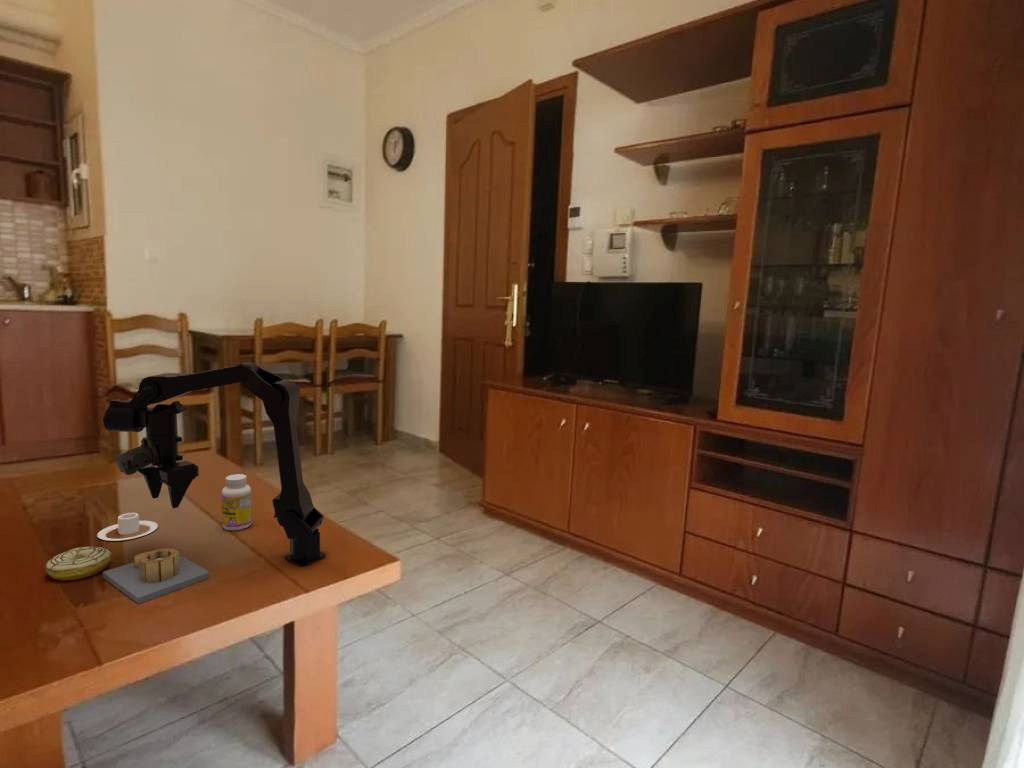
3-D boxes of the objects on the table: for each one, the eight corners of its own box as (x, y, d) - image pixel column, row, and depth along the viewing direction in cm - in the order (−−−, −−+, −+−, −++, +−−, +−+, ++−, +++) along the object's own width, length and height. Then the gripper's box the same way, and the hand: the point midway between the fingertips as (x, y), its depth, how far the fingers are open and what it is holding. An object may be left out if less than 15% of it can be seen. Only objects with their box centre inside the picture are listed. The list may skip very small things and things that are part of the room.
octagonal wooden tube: (184, 573, 112) (183, 554, 111) (149, 585, 107) (148, 565, 106) (169, 564, 115) (168, 545, 115) (135, 575, 110) (134, 556, 110)
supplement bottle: (216, 527, 137) (214, 477, 136) (240, 519, 143) (239, 471, 142) (234, 533, 134) (232, 482, 133) (257, 524, 140) (256, 475, 139)
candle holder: (127, 546, 126) (126, 528, 126) (84, 539, 129) (82, 522, 128) (169, 526, 138) (169, 510, 137) (129, 521, 140) (128, 504, 140)
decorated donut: (115, 556, 121) (115, 539, 120) (106, 577, 112) (105, 560, 111) (55, 564, 116) (54, 547, 116) (40, 587, 107) (39, 569, 106)
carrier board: (209, 577, 113) (208, 558, 112) (138, 604, 102) (137, 582, 102) (172, 555, 122) (171, 537, 121) (103, 577, 111) (101, 557, 111)
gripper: (100, 431, 117) (104, 502, 119) (139, 447, 106) (143, 524, 108) (157, 424, 126) (160, 490, 128) (198, 437, 115) (201, 509, 118)
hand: (165, 502), depth 120 cm, fingers open, 9 cm apart
